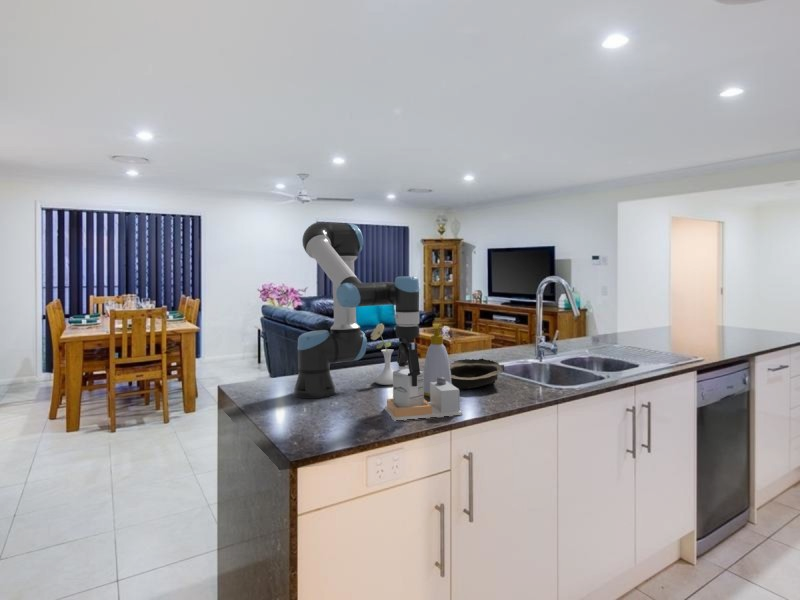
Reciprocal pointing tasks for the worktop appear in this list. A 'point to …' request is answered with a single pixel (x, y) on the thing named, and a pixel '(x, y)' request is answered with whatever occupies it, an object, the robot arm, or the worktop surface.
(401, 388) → the supplement box
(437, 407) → the tan white boxy piece
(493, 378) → the stone bowl
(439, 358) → the soap bottle
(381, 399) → the worktop surface
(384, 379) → the flower in vase
